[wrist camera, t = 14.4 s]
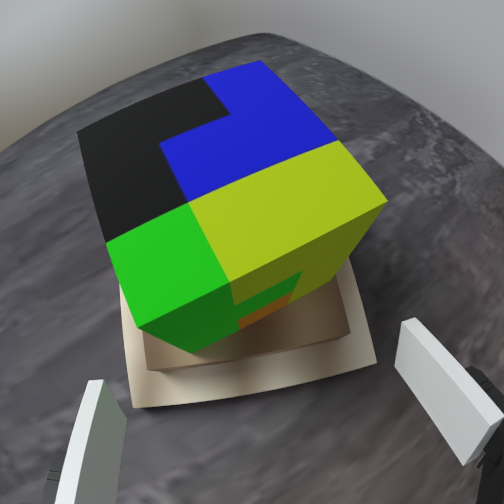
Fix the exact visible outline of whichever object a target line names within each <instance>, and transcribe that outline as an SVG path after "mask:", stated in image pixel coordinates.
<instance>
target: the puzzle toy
mask: <svg viewBox="0 0 504 504" xmlns="http://www.w3.org/2000/svg"><path fill="white" fill-rule="evenodd" d="M77 134H78V139H79V144H80V148H81V153H82V157H83V162H84V166H85V170H86V174H87V179H88V183H89V186H90V190H91V194H92V198H93V202H94V205H95V209H96V212H97V216H98V219H99V223H100V226H101V229H102V232H103V236H104V239H105V242H106V245H107V248H108V251H109V254H110V257H111V260H112V263H113V266H114V269H115V272H116V275H117V278H118V280H119V283H120V286H121V289H122V291H123V294H124V297H125V299H126V302H127V304H128V307H129V310H130V312H131V315H132V317H133V320H134V322H135V324H136V327H137V328H138V329H140V330H142V331H144V332H146V333H148V334H150V335H152V336H154V337H156V338H158V339H160V340H162V341H165V342H167V343H169V344H171V345H173V346H175V347H177V348H179V349H182V350H184V351H186V352H188V353H190V354H192V353H194V352H196V351H198V350H200V349H203V348H205V347H207V346H209V345H211V344H213V343H215V342H217V341H219V340H221V339H223V338H225V337H227V336H229V335H231V334H233V333H235V332H237V331H238V330H240V329H242V328H244V327H246V326H248V325H250V324H252V323H254V322H256V321H258V320H260V319H262V318H263V317H265V316H267V315H269V314H271V313H273V312H275V311H277V310H279V309H280V308H282V307H284V306H286V305H288V304H290V303H291V302H293V301H295V300H297V299H299V298H301V297H302V296H304V295H306V294H308V293H310V292H311V291H313V290H315V289H317V288H318V287H320V286H322V285H324V284H325V283H327V282H329V281H330V280H331V279H332V278H333V276H334V275H335V274H336V273H337V271H338V270H339V269H340V267H341V266H342V265H343V263H344V262H345V261H346V259H347V258H348V256H349V255H350V254H351V252H352V251H353V250H354V248H355V247H356V246H357V244H358V243H359V241H360V240H361V239H362V237H363V236H364V234H365V233H366V232H367V230H368V229H369V227H370V226H371V224H372V223H373V222H374V220H375V219H376V217H377V216H378V214H379V213H380V212H381V210H382V209H383V207H384V206H385V204H386V203H387V199H386V198H385V197H384V195H383V194H382V193H381V191H380V190H379V189H378V187H377V186H376V185H375V184H374V182H373V181H372V180H371V179H370V177H369V176H368V175H367V174H366V172H365V171H364V170H363V169H362V167H361V166H360V165H359V164H358V163H357V161H356V160H355V159H354V158H353V157H352V155H351V154H350V153H349V152H348V151H347V149H346V148H345V147H344V146H343V145H342V144H341V142H340V141H339V140H338V139H337V138H336V137H335V136H334V134H333V133H332V132H331V131H330V130H329V129H328V128H327V127H326V126H325V124H324V123H323V122H322V121H321V120H320V119H319V118H318V117H317V116H316V115H315V114H314V113H313V112H312V110H311V109H310V108H309V107H308V106H307V105H306V104H305V103H304V102H303V101H302V100H301V99H300V98H299V97H298V96H297V95H296V94H295V93H294V92H293V91H292V90H291V89H290V88H289V87H288V86H287V85H286V84H285V83H284V82H283V81H282V80H281V79H280V78H279V77H278V76H277V75H276V74H275V73H274V72H273V71H271V70H270V69H269V68H268V67H267V66H266V65H265V64H264V63H263V62H262V61H261V60H260V61H256V62H252V63H248V64H245V65H241V66H238V67H234V68H231V69H227V70H224V71H221V72H218V73H214V74H211V75H208V76H205V77H202V78H199V79H196V80H193V81H191V82H188V83H185V84H182V85H179V86H177V87H174V88H171V89H169V90H166V91H164V92H161V93H159V94H156V95H154V96H151V97H149V98H146V99H144V100H142V101H139V102H137V103H135V104H133V105H130V106H128V107H126V108H124V109H121V110H119V111H117V112H115V113H113V114H111V115H109V116H107V117H105V118H103V119H101V120H99V121H97V122H95V123H93V124H91V125H89V126H87V127H85V128H83V129H81V130H79V131H77Z"/></svg>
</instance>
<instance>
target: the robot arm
mask: <svg viewBox="0 0 504 504" xmlns="http://www.w3.org/2000/svg"><path fill="white" fill-rule="evenodd" d="M394 367H395V368H396V369H397V371H398V372H399V373H400V375H401V376H402V378H403V379H404V380H405V382H406V383H407V385H408V386H409V387H410V389H411V390H412V392H413V393H414V394H415V396H416V397H417V399H418V400H419V402H420V403H421V404H422V406H423V407H424V409H425V410H426V412H427V413H428V415H429V416H430V417H431V419H432V420H433V422H434V423H435V425H436V426H437V428H438V429H439V431H440V432H441V434H442V435H443V436H444V438H445V439H446V441H447V442H448V444H449V445H450V447H451V448H452V450H453V451H454V453H455V455H456V456H457V458H458V459H459V461H460V462H461V464H462V465H463V466H464V465H466V464H468V463H469V462H471V461H472V460H474V459H475V458H477V457H478V456H479V454H480V453H481V452H482V450H484V451H485V453H486V454H485V456H484V457H483V458H482V460H481V461H480V462H479V464H478V466H477V468H480V467H481V465H482V464H483V469H482V476H481V481H480V487H479V492H478V497H477V502H476V504H504V396H503V394H502V393H501V392H500V391H499V390H498V389H497V388H496V387H494V384H493V383H492V382H491V381H489V379H488V378H487V377H486V376H485V375H484V374H483V373H482V371H480V370H478V369H476V368H474V367H472V366H470V367H468V368H466V369H464V368H463V367H462V366H461V365H460V364H459V363H458V362H457V360H456V359H455V358H454V357H453V356H452V355H451V354H450V353H449V352H448V351H447V350H446V349H445V348H444V346H443V345H442V344H441V343H440V342H439V341H438V340H437V339H436V338H435V337H434V336H433V335H432V334H431V333H430V332H429V331H428V330H427V329H426V328H425V327H424V326H423V325H422V324H421V323H420V321H419V320H418V319H417V318H416V317H415V318H412V319H408V320H405V321H402V323H401V330H400V336H399V342H398V348H397V354H396V360H395V365H394ZM126 423H127V419H126V417H125V415H124V414H123V412H122V410H121V409H120V407H119V405H118V404H117V402H116V400H115V399H114V397H113V395H112V394H111V392H110V390H109V388H108V386H107V385H106V383H105V381H104V380H89V381H88V384H87V387H86V390H85V393H84V396H83V399H82V402H81V406H80V409H79V412H78V415H77V419H76V422H75V425H74V429H73V432H72V435H71V439H70V443H69V446H68V450H67V451H62V450H59V451H58V452H57V453H56V455H55V456H54V458H53V459H52V462H51V465H50V469H49V471H50V472H49V473H48V476H47V481H46V484H45V488H44V492H43V497H42V501H41V504H116V496H117V486H118V478H119V470H120V462H121V455H122V448H123V441H124V435H125V429H126ZM22 504H30V503H22Z"/></svg>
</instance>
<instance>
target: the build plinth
mask: <svg viewBox="0 0 504 504" xmlns="http://www.w3.org/2000/svg"><path fill="white" fill-rule="evenodd" d="M120 300H121V314H122V326H123V336H124V346H125V355H126V363H127V371H128V378H129V385H130V391H131V398H132V404H133V408H141V407H155V406H166V405H176V404H186V403H194V402H202V401H209V400H216V399H223V398H230V397H236V396H242V395H248V394H253V393H259V392H264V391H269V390H274V389H279V388H284V387H288V386H293V385H297V384H302V383H306V382H310V381H314V380H318V379H322V378H326V377H330V376H334V375H337V374H341V373H345V372H348V371H352V370H355V369H359V368H362V367H365V366H369V365H372V364H375V363H377V361H376V356H375V352H374V348H373V344H372V339H371V335H370V331H369V327H368V324H367V320H366V316H365V312H364V308H363V305H362V301H361V297H360V294H359V290H358V287H357V283H356V280H355V276H354V273H353V269H352V266H351V263H350V259H349V256H348V258H347V259H346V261H345V262H344V263H343V265H342V266H341V267H340V269H339V270H338V271H337V273H336V274H335V275H334V276H333V278H332V279H331V280H330V281H329V282H327V283H325V284H324V285H322V286H320V287H318V288H317V289H315V290H313V291H311V292H310V293H308V294H306V295H304V296H302V297H301V298H299V299H297V300H295V301H293V302H291V303H290V304H288V305H286V306H284V307H282V308H280V309H279V310H277V311H275V312H273V313H271V314H269V315H267V316H265V317H263V318H262V319H260V320H258V321H256V322H254V323H252V324H250V325H248V326H246V327H244V328H242V329H240V330H238V331H237V332H235V333H233V334H231V335H229V336H227V337H225V338H223V339H221V340H219V341H217V342H215V343H213V344H211V345H209V346H207V347H205V348H203V349H200V350H198V351H196V352H194V353H192V354H190V353H188V352H186V351H184V350H182V349H179V348H177V347H175V346H173V345H171V344H169V343H167V342H165V341H162V340H160V339H158V338H156V337H154V336H152V335H150V334H148V333H146V332H144V331H142V330H140V329H138V328H137V327H136V324H135V322H134V320H133V317H132V315H131V312H130V310H129V307H128V304H127V302H126V299H125V297H124V294H123V291H122V289H121V286H120Z"/></svg>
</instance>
